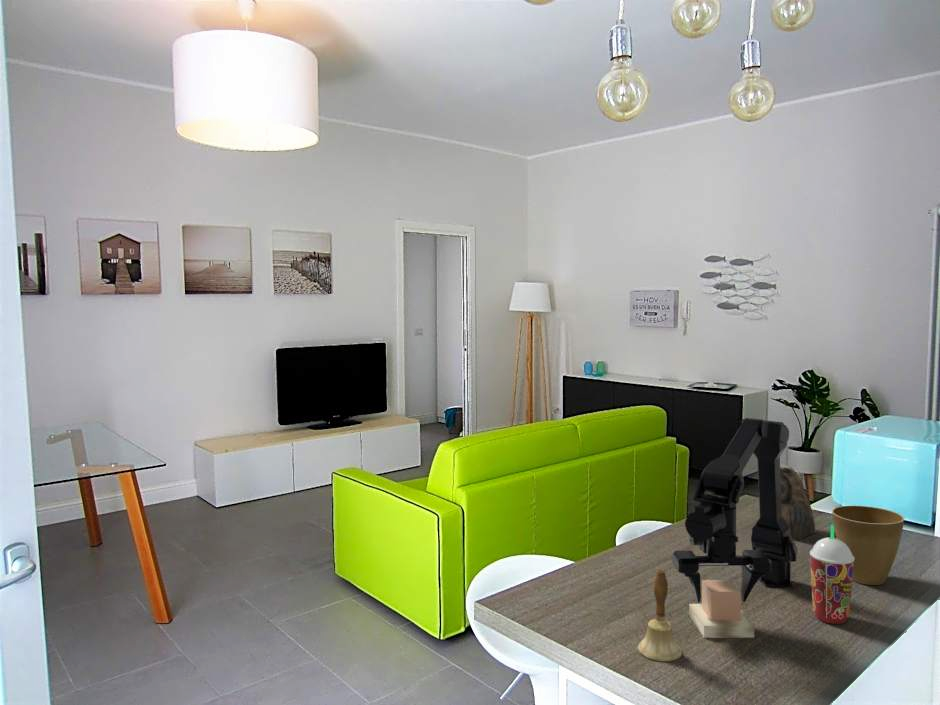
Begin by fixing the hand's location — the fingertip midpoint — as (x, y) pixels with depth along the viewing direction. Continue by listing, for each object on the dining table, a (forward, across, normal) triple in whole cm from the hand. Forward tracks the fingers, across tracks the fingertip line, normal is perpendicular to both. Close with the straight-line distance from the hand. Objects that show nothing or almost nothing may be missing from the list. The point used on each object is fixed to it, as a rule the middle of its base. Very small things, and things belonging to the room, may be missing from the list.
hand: (720, 601), depth 142 cm
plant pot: (+6, -42, -23) cm, 48 cm away
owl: (+6, -39, -56) cm, 68 cm away
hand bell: (+5, +15, +10) cm, 19 cm away
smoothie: (+5, -24, -3) cm, 25 cm away
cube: (+3, 0, 0) cm, 3 cm away
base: (+6, 0, 0) cm, 6 cm away
